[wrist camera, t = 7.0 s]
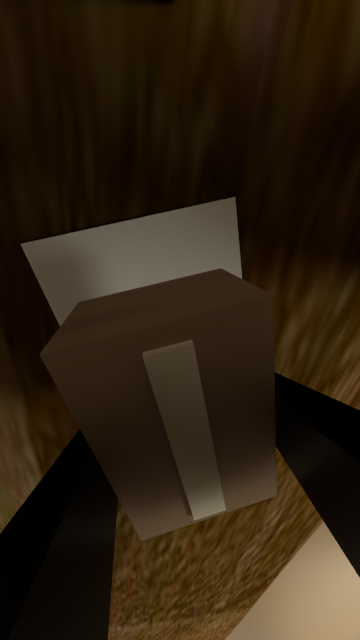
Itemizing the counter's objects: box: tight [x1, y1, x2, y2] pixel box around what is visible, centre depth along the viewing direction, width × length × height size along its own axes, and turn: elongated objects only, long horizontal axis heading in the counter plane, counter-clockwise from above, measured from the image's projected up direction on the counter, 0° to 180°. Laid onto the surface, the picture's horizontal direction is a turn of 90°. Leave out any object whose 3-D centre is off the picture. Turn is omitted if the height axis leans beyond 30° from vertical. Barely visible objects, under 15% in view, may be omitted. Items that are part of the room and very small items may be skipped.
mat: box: [21, 197, 242, 326], centre depth 13 cm, size 10×11×1 cm
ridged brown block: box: [39, 268, 277, 541], centre depth 7 cm, size 7×4×3 cm, turn 11°
